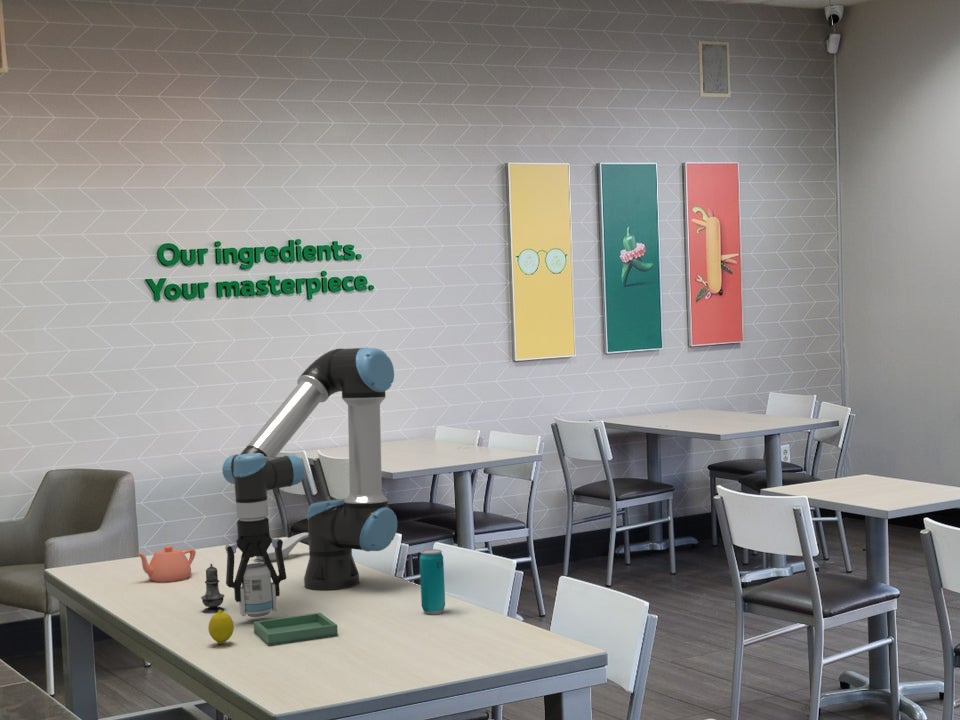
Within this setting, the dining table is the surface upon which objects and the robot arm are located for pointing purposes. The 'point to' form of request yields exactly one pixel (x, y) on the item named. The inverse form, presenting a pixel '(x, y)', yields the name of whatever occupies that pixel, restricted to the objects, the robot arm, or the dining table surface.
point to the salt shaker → (212, 592)
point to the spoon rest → (285, 546)
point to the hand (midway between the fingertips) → (258, 612)
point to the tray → (295, 629)
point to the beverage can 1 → (257, 590)
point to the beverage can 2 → (432, 581)
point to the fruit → (221, 627)
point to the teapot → (168, 565)
